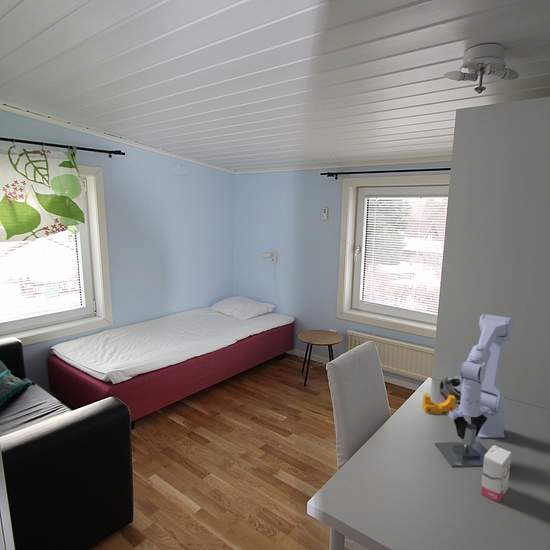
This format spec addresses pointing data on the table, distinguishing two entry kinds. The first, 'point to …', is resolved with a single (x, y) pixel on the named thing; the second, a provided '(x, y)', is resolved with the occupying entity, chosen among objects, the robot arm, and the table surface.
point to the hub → (469, 434)
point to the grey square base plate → (463, 453)
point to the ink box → (496, 473)
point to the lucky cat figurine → (451, 387)
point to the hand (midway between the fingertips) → (467, 435)
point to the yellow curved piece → (438, 405)
